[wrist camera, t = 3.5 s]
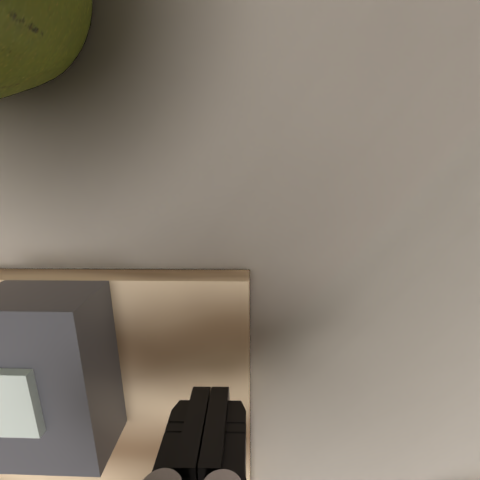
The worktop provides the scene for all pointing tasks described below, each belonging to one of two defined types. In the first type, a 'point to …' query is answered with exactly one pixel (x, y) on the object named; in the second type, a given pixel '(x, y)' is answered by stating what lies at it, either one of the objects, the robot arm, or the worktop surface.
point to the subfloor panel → (166, 350)
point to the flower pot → (39, 40)
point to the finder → (58, 378)
